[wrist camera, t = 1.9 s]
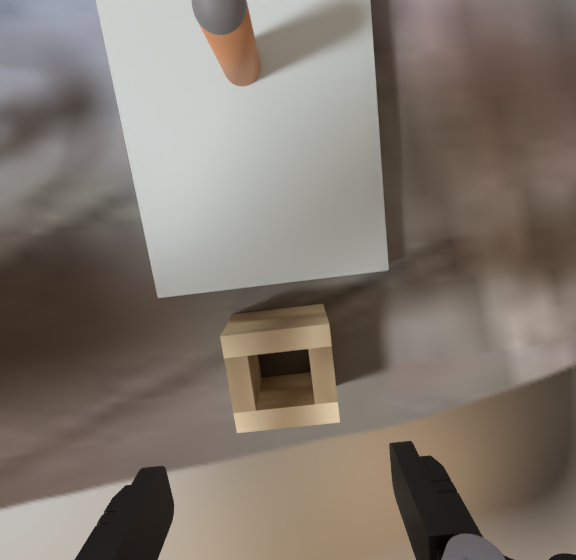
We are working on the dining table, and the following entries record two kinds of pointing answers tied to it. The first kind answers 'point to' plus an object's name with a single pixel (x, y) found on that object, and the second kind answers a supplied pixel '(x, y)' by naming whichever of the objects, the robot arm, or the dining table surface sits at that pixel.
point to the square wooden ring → (285, 388)
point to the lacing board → (250, 138)
